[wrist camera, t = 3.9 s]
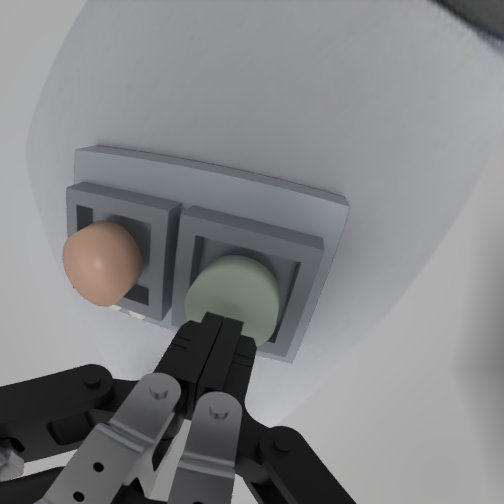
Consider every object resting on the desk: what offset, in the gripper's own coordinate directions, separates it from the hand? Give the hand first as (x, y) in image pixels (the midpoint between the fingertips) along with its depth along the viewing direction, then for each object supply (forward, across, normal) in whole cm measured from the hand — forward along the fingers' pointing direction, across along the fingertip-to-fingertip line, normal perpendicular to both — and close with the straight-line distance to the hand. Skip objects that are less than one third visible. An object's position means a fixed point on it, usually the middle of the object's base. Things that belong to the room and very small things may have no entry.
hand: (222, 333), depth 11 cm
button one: (+3, 0, 0) cm, 3 cm away
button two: (+3, +7, 0) cm, 8 cm away
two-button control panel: (+6, +4, 0) cm, 7 cm away
